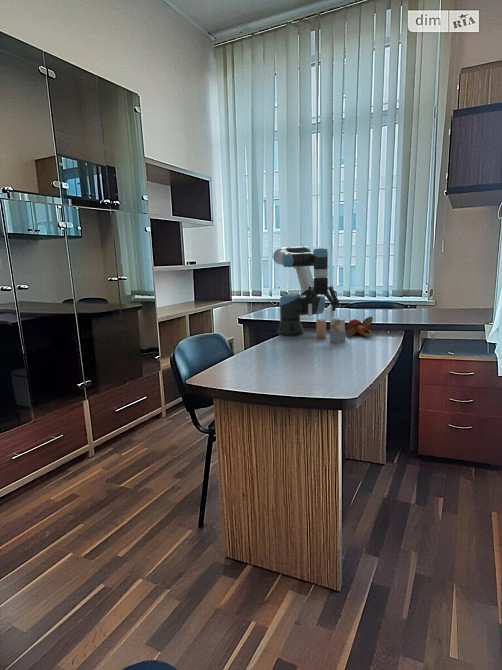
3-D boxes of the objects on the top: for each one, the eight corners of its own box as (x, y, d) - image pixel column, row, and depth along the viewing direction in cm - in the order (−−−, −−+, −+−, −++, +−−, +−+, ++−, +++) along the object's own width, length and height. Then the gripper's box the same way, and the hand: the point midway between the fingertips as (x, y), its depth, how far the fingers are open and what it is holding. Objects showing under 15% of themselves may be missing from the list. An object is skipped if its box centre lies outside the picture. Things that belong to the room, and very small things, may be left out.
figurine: (382, 331, 226) (363, 322, 238) (380, 318, 221) (362, 309, 233) (355, 348, 220) (337, 337, 232) (353, 335, 215) (335, 325, 228)
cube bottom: (329, 342, 213) (329, 330, 212) (335, 339, 217) (335, 328, 216) (340, 343, 209) (340, 331, 208) (345, 341, 214) (345, 329, 213)
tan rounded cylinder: (314, 338, 223) (314, 320, 221) (319, 336, 227) (319, 319, 225) (323, 339, 220) (322, 321, 218) (327, 337, 224) (327, 319, 222)
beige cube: (330, 331, 211) (330, 319, 210) (333, 329, 216) (333, 318, 215) (341, 331, 208) (341, 320, 207) (344, 329, 213) (344, 318, 212)
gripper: (297, 277, 222) (297, 316, 226) (338, 277, 207) (338, 318, 211) (304, 276, 228) (304, 314, 232) (345, 276, 212) (345, 316, 216)
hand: (321, 316), depth 221 cm, fingers open, 13 cm apart
